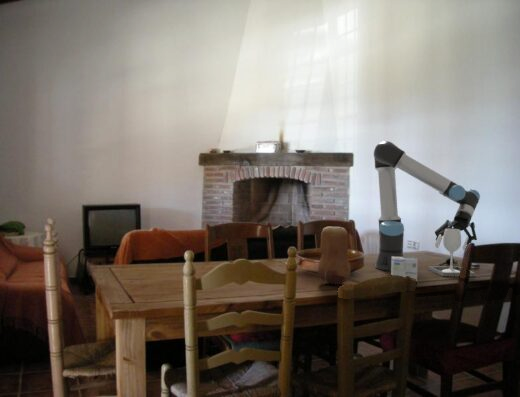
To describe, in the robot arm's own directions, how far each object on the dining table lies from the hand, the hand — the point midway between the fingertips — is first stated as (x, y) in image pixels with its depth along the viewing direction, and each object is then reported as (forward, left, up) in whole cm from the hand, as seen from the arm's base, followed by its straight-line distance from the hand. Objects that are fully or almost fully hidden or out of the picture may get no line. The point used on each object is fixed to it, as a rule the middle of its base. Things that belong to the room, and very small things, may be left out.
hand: (449, 247), depth 236 cm
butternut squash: (-62, -22, -13) cm, 67 cm away
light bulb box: (-29, -17, -13) cm, 36 cm away
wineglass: (+2, +2, -12) cm, 13 cm away
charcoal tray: (+2, +1, -13) cm, 13 cm away
